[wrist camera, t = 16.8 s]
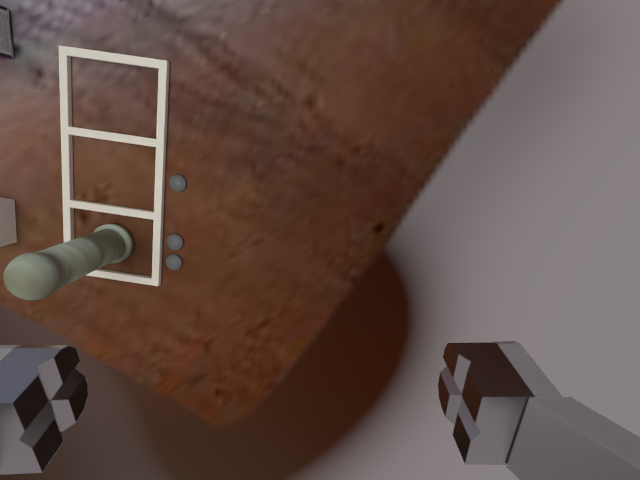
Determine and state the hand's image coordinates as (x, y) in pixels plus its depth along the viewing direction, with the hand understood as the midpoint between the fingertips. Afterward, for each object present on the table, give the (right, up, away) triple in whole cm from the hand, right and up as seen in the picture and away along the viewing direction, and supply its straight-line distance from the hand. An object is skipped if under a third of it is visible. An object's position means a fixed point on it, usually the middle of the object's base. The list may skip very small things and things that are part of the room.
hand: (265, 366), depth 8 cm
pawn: (-22, +3, +34) cm, 41 cm away
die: (-36, +5, +34) cm, 50 cm away
